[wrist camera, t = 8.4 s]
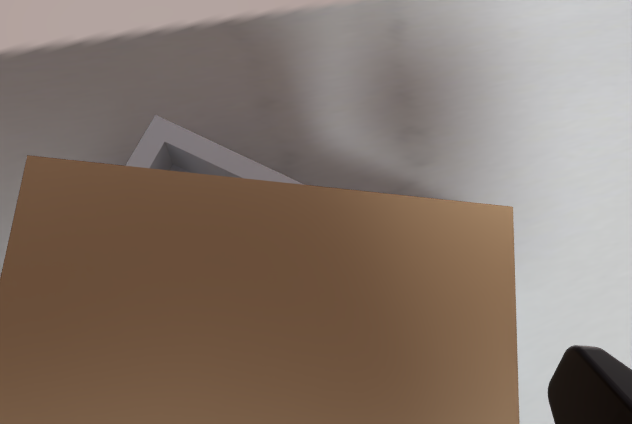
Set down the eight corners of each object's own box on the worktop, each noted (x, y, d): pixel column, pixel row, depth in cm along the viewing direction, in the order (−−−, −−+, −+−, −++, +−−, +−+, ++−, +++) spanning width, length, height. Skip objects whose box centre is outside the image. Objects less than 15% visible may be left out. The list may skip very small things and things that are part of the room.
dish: (341, 658, 15) (361, 719, 12) (-31, 490, 14) (-85, 519, 12) (470, 288, 18) (507, 279, 15) (167, 146, 17) (155, 114, 15)
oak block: (326, 477, 15) (530, 779, 4) (144, 469, 14) (-115, 795, 4) (336, 299, 16) (512, 206, 6) (169, 285, 16) (27, 155, 5)
